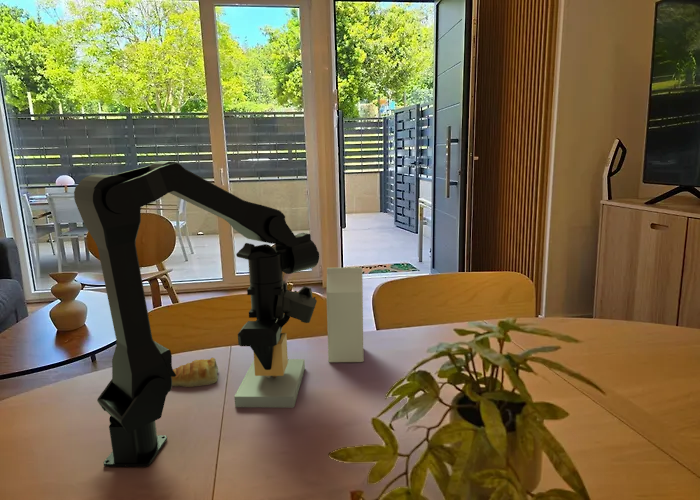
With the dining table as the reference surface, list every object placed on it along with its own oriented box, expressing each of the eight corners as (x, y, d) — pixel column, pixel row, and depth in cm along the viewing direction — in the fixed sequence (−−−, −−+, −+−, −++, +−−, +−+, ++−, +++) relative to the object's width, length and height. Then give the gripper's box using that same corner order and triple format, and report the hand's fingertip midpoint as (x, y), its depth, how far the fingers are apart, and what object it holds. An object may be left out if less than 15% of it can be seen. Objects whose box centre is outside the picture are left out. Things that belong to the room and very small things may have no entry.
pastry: (165, 393, 83) (163, 374, 82) (168, 376, 90) (166, 358, 89) (219, 384, 86) (217, 365, 85) (218, 369, 92) (216, 351, 91)
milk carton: (363, 362, 93) (362, 272, 89) (328, 363, 93) (325, 272, 89) (363, 347, 100) (362, 263, 96) (330, 348, 100) (328, 263, 96)
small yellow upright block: (283, 375, 81) (281, 344, 80) (255, 375, 81) (253, 344, 80) (287, 362, 86) (286, 332, 85) (261, 362, 86) (259, 332, 85)
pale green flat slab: (293, 407, 78) (292, 371, 76) (235, 407, 78) (232, 371, 76) (304, 368, 91) (303, 337, 90) (254, 368, 92) (252, 337, 90)
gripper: (305, 296, 71) (309, 388, 74) (318, 265, 89) (320, 341, 92) (233, 296, 71) (240, 388, 74) (260, 266, 89) (265, 341, 93)
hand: (271, 362), depth 83 cm, fingers open, 5 cm apart
